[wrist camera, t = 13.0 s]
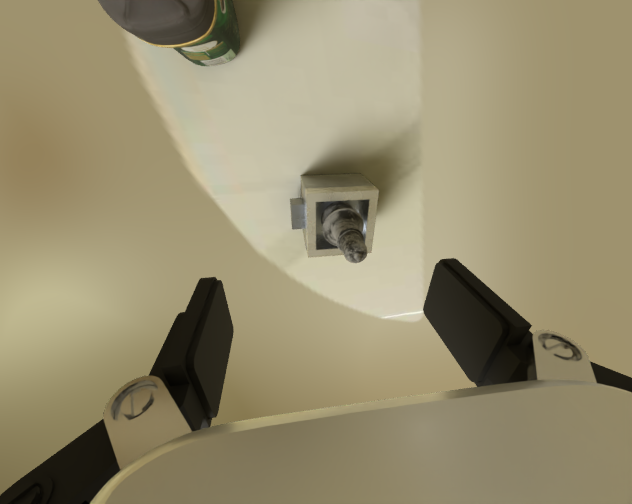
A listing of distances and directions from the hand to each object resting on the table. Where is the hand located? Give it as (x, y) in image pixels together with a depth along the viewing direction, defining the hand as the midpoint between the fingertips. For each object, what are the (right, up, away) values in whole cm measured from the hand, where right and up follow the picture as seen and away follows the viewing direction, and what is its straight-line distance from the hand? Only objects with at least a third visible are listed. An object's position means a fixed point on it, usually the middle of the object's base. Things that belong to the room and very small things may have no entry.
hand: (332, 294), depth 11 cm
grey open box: (+1, +9, +34) cm, 35 cm away
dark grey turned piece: (+3, +7, +27) cm, 28 cm away
